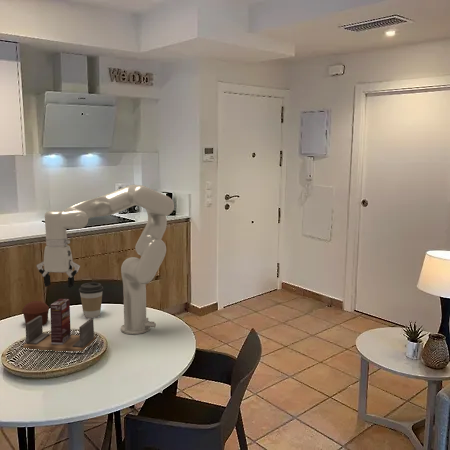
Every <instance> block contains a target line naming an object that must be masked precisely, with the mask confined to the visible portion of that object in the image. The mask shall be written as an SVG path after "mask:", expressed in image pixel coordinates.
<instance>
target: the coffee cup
mask: <svg viewBox="0 0 450 450" xmlns="http://www.w3.org/2000/svg"><path fill="white" fill-rule="evenodd" d="M104 290H105V289H104V286H102V283H100V282H86V283H82V284H81V285H80V287H79V288H78V293H79V295H80V302H81V307H82V313H83V316H84V318H85V319H96V318H99V317H100V316H101V312H102V311H101V310H102V302H103V301H102V300H103V291H104Z"/></svg>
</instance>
